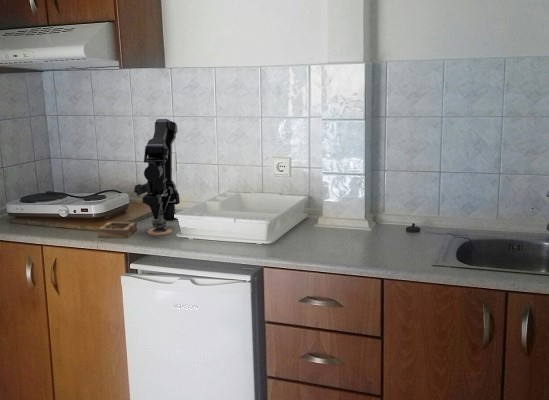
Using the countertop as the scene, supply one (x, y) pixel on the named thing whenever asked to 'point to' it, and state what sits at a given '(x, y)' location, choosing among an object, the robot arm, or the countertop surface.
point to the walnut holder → (117, 229)
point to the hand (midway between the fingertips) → (158, 216)
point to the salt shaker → (159, 222)
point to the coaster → (159, 232)
